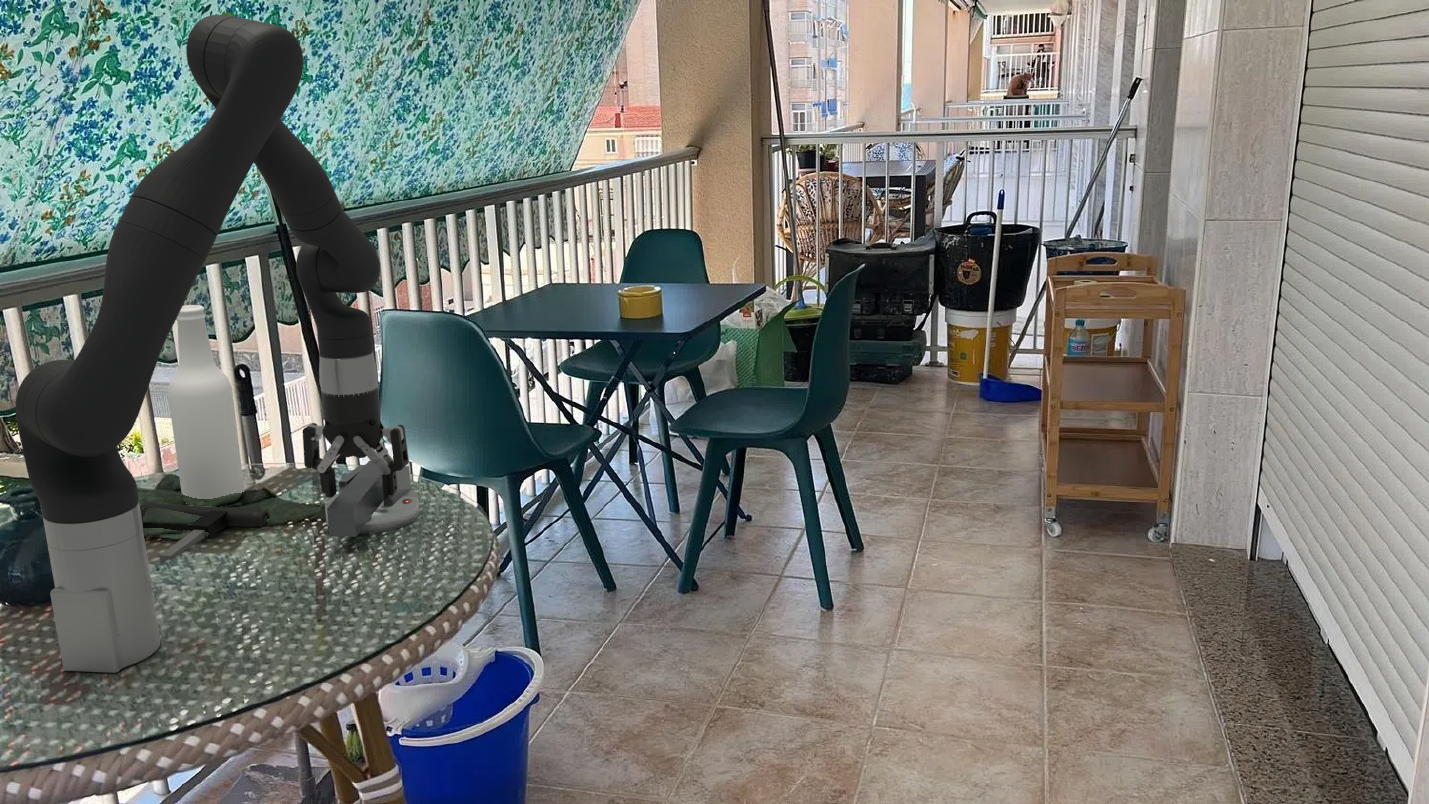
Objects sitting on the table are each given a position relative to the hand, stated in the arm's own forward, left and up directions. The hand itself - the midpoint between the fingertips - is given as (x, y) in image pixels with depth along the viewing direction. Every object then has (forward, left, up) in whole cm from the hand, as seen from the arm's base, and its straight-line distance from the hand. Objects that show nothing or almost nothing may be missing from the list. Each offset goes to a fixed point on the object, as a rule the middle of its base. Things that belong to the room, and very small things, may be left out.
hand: (360, 496), depth 160 cm
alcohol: (+11, +28, -5) cm, 31 cm away
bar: (0, 0, -2) cm, 2 cm away
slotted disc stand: (+4, 0, -5) cm, 6 cm away
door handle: (-5, +25, -6) cm, 26 cm away
